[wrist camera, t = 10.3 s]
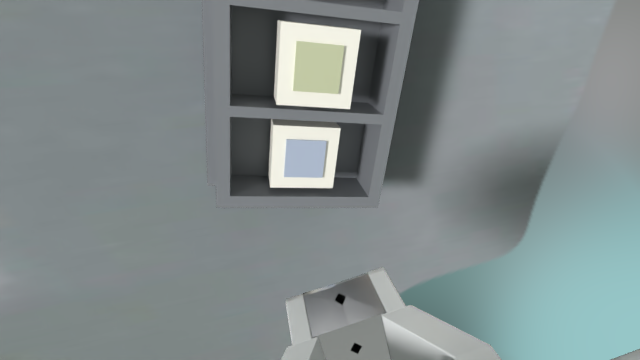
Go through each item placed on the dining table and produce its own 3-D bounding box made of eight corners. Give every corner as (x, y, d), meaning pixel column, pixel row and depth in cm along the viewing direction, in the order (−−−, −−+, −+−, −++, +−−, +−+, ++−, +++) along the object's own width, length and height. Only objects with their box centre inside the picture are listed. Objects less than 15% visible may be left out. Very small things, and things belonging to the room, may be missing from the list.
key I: (341, 100, 21) (350, 109, 19) (273, 96, 20) (276, 105, 18) (350, 28, 19) (362, 30, 18) (277, 20, 19) (281, 21, 17)
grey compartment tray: (366, 176, 28) (389, 207, 24) (210, 173, 26) (202, 207, 21) (436, -219, 19) (495, -290, 14) (197, -286, 16) (179, -396, 12)
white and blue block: (326, 175, 25) (333, 189, 23) (268, 174, 24) (270, 188, 22) (333, 118, 23) (341, 129, 21) (271, 115, 22) (273, 125, 20)
